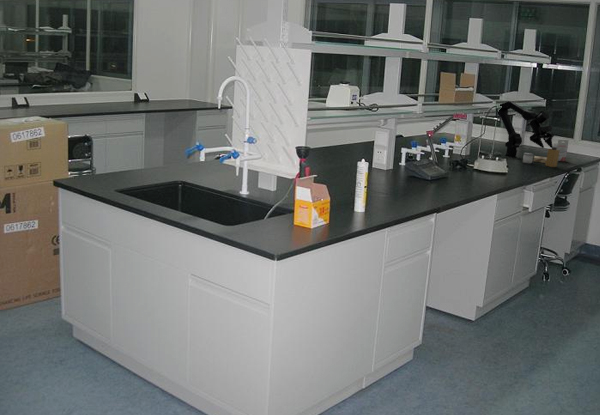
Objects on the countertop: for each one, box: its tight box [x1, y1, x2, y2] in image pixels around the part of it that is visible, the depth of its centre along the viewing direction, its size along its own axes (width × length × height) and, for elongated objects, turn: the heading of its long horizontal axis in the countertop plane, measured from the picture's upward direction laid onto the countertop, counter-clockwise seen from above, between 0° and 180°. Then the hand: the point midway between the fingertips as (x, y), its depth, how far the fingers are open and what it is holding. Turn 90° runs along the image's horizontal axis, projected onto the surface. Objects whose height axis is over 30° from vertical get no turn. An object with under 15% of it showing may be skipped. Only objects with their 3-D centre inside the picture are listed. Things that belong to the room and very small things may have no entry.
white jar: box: [522, 152, 535, 164], centre depth 460 cm, size 6×6×6 cm
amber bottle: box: [544, 147, 560, 168], centre depth 454 cm, size 5×5×12 cm
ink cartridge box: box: [552, 139, 569, 162], centre depth 480 cm, size 9×5×15 cm, turn 105°
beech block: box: [532, 155, 547, 164], centre depth 470 cm, size 9×9×3 cm
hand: (547, 147), depth 456 cm, fingers open, 9 cm apart
